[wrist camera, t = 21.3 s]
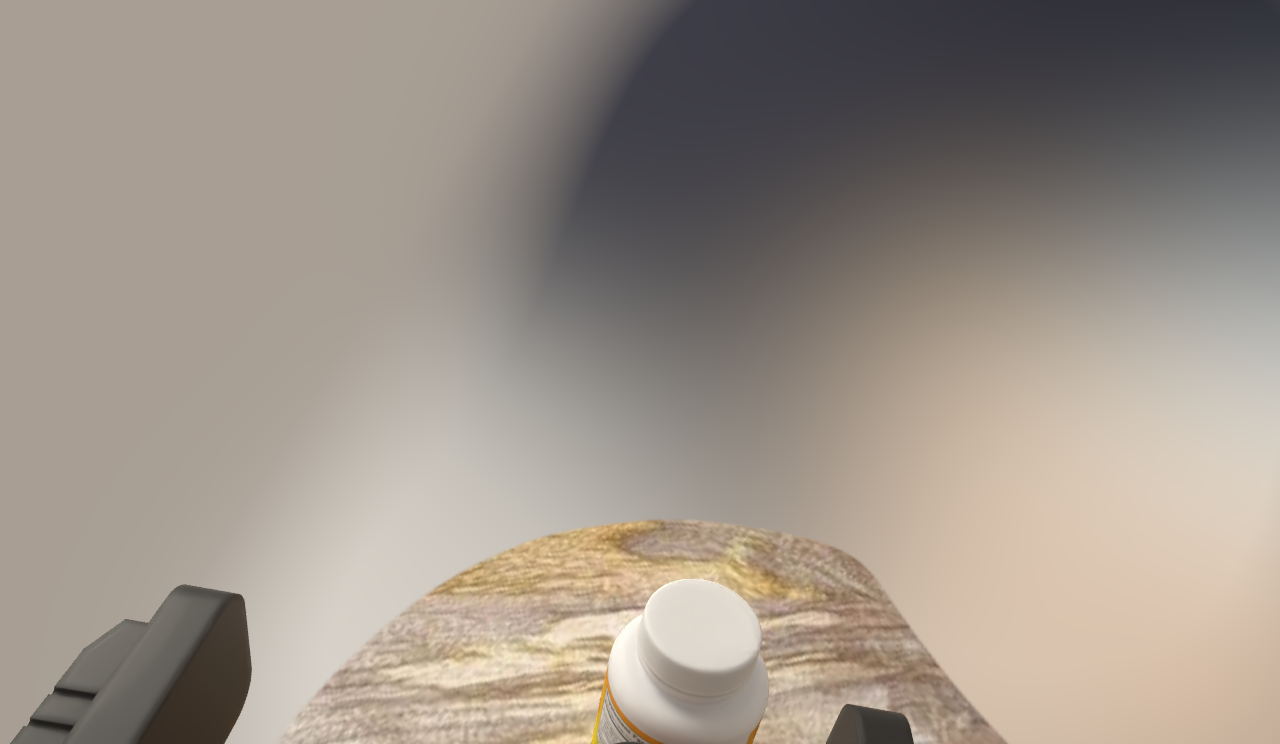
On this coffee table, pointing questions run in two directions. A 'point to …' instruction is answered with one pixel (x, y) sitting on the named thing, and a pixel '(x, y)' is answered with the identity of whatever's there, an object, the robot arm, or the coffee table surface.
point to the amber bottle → (628, 743)
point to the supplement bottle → (686, 671)
